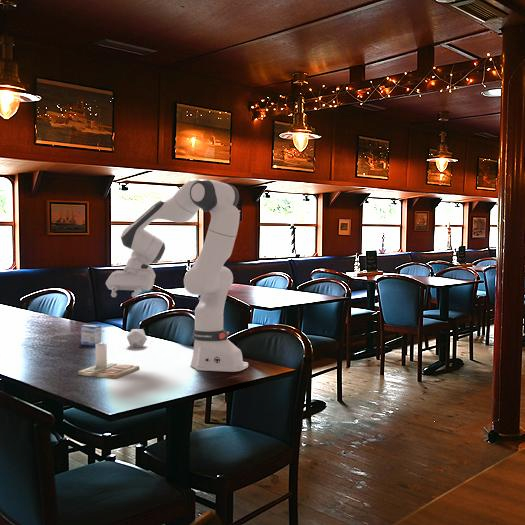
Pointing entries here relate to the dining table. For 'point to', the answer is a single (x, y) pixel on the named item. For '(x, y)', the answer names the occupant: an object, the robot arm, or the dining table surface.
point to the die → (136, 338)
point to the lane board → (109, 370)
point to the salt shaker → (101, 355)
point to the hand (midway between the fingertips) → (123, 296)
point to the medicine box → (91, 335)
